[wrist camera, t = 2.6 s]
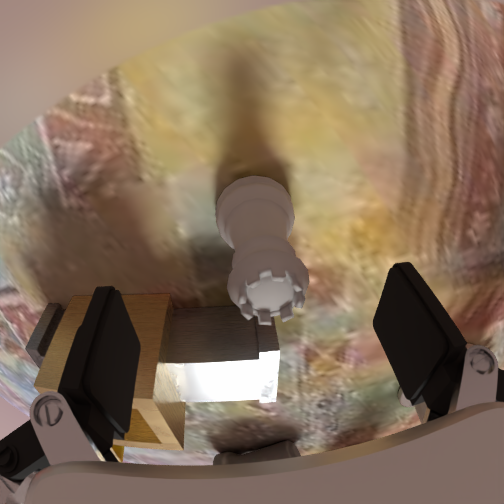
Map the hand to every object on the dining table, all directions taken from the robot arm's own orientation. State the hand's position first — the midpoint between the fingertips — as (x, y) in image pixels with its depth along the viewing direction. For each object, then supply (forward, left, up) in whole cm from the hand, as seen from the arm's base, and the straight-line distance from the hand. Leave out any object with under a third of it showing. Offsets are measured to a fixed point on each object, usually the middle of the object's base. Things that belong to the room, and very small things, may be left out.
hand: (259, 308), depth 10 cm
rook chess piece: (-1, +1, -9) cm, 9 cm away
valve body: (+7, +11, -9) cm, 16 cm away
